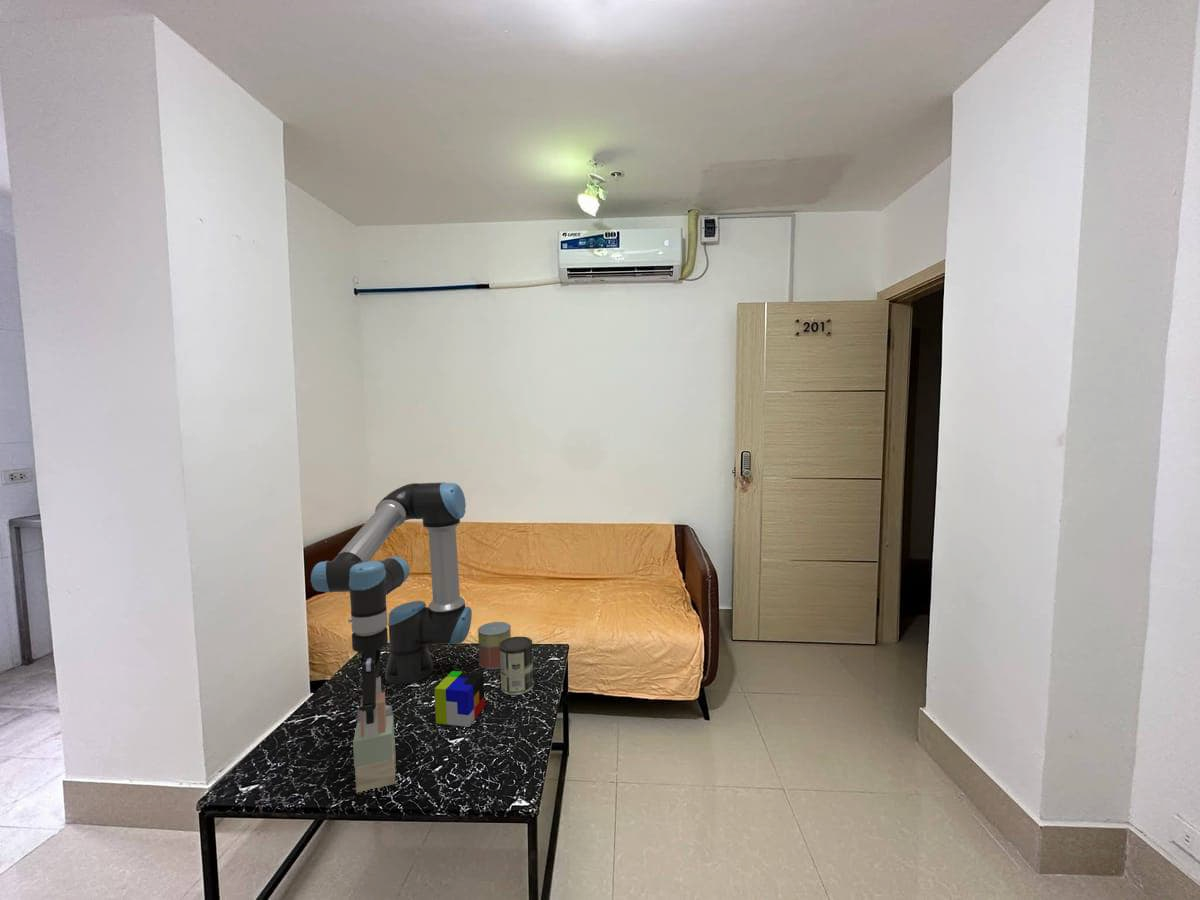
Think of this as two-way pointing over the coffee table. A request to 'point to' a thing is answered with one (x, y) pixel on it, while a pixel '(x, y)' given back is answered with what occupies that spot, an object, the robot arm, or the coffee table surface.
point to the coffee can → (516, 665)
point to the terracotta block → (380, 713)
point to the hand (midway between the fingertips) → (373, 718)
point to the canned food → (492, 643)
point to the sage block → (374, 745)
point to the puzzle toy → (459, 698)
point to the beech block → (376, 774)
